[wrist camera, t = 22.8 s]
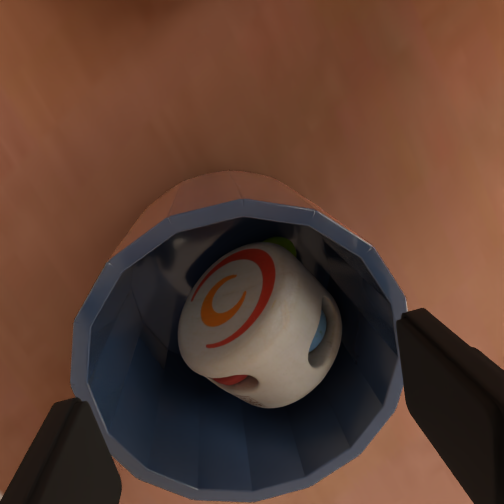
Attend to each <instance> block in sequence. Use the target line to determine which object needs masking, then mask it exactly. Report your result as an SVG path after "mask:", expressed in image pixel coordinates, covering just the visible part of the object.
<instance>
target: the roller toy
mask: <svg viewBox="0 0 504 504" xmlns="http://www.w3.org/2000/svg"><path fill="white" fill-rule="evenodd" d="M341 336H342V321H341V315H340V311H339V308H338V306H337V304H336V302H335V300H334V298H333V297H332V296H331V294H330V293H329V292H328V291H327V290H326V289H325V288H324V287H323V286H322V284H321V283H320V282H319V281H318V280H317V279H316V278H315V277H314V276H313V275H312V274H311V273H310V272H309V271H308V270H307V268H306V267H305V266H304V265H303V264H302V263H301V262H300V261H299V260H298V259H297V258H296V250H295V247H294V245H293V243H292V242H291V241H290V240H288V239H286V238H283V237H271V238H268V239H266V240H264V241H262V242H255V243H251V244H247V245H244V246H241V247H239V248H236V249H234V250H232V251H230V252H229V253H227V254H225V255H224V256H222V257H221V258H220V259H218V260H217V261H216V262H215V263H214V264H212V265H211V266H210V267H209V268H208V269H207V270H206V271H205V273H204V274H203V275H202V276H201V277H200V279H199V280H198V281H197V283H196V284H195V286H194V287H193V289H192V290H191V292H190V294H189V296H188V298H187V300H186V302H185V304H184V307H183V309H182V312H181V315H180V319H179V324H178V345H179V350H180V353H181V355H182V358H183V360H184V361H185V363H186V364H187V365H188V366H189V368H190V369H192V370H193V371H194V372H196V373H198V374H199V375H202V376H204V377H206V378H207V379H209V380H210V381H211V382H213V383H214V384H216V385H217V386H218V387H220V388H221V389H223V390H225V391H226V392H228V393H230V394H232V395H234V396H236V397H238V398H240V399H241V400H243V401H245V402H247V403H249V404H251V405H254V406H257V407H261V408H278V407H283V406H286V405H289V404H291V403H294V402H296V401H298V400H299V399H301V398H303V397H304V396H306V395H307V394H308V393H310V392H311V391H312V390H313V389H314V388H315V387H316V386H317V385H318V384H319V383H320V382H321V381H322V380H323V379H324V377H325V376H326V374H327V373H328V371H329V370H330V368H331V366H332V364H333V362H334V360H335V358H336V356H337V353H338V350H339V347H340V342H341Z"/></svg>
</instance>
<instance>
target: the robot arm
mask: <svg viewBox="0 0 504 504" xmlns="http://www.w3.org/2000/svg"><path fill="white" fill-rule="evenodd" d="M396 329H397V337H398V345H399V353H400V361H401V369H402V377H403V385H404V393H405V400H406V404H407V407H408V410H409V412H410V414H411V415H412V417H413V418H414V420H415V421H416V423H417V424H418V425H419V427H420V428H421V430H422V431H423V432H424V434H425V435H426V437H427V438H428V439H429V441H430V442H431V444H432V445H433V447H434V448H435V449H436V451H437V452H438V454H439V455H440V456H441V458H442V459H443V461H444V462H445V463H446V465H447V466H448V468H449V469H450V470H451V472H452V473H453V475H454V476H455V478H456V479H457V480H458V482H459V483H460V485H461V486H462V487H463V489H464V490H465V492H466V493H467V494H468V496H469V497H470V499H471V500H472V501H473V503H474V504H504V370H502V369H501V368H500V367H499V366H498V365H496V364H495V363H494V362H493V361H491V360H490V359H489V358H488V357H487V356H485V355H484V354H483V353H482V352H481V351H479V350H478V349H476V348H474V347H470V346H469V345H468V344H467V343H465V342H464V341H463V340H462V339H461V338H459V337H458V336H457V335H456V334H455V333H453V332H452V331H451V330H450V329H449V328H447V327H446V326H445V325H444V324H443V323H441V322H440V321H439V320H438V319H437V318H435V317H434V316H433V315H432V314H431V313H429V312H428V311H427V310H426V309H424V308H420V309H416V310H412V311H409V312H405V313H402V315H401V319H399V320H397V321H396ZM121 490H122V484H121V478H120V475H119V473H118V471H117V468H116V466H115V464H114V461H113V459H112V457H111V454H110V452H109V449H108V447H107V445H106V442H105V440H104V438H103V435H102V433H101V431H100V428H99V426H98V424H97V421H96V419H95V416H94V414H93V412H92V409H91V407H90V405H89V403H88V402H87V401H81V399H80V398H78V397H76V398H72V399H68V400H64V401H60V402H57V403H54V405H53V406H52V408H51V409H50V411H49V413H48V415H47V417H46V418H45V420H44V422H43V424H42V426H41V428H40V429H39V431H38V433H37V435H36V437H35V439H34V440H33V442H32V444H31V446H30V448H29V450H28V451H27V453H26V455H25V457H24V459H23V461H22V462H21V464H20V466H19V468H18V470H17V471H16V473H15V475H14V477H13V479H12V481H11V482H10V484H9V486H8V488H7V490H6V492H5V493H4V495H3V497H2V499H1V501H0V504H119V500H120V496H121Z"/></svg>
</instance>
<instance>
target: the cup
mask: <svg viewBox="0 0 504 504" xmlns="http://www.w3.org/2000/svg"><path fill="white" fill-rule="evenodd" d="M271 237H283V238H286V239H288V240H290V241H291V242H292V243H293V245H294V247H295V250H296V258H297V259H298V260H299V261H300V262H301V263H302V264H303V265H304V266H305V267H306V268H307V270H308V271H309V272H310V273H311V274H312V275H313V276H314V277H315V278H316V279H317V280H318V281H319V282H320V283H321V284H322V286H323V287H324V288H325V289H326V290H327V291H328V292H329V293H330V294H331V296H332V297H333V298H334V300H335V302H336V304H337V306H338V308H339V311H340V315H341V321H342V336H341V342H340V347H339V350H338V353H337V356H336V358H335V360H334V362H333V364H332V366H331V368H330V370H329V371H328V373H327V374H326V376H325V377H324V379H323V380H322V381H321V382H320V383H319V384H318V385H317V386H316V387H315V388H314V389H313V390H312V391H311V392H310V393H308V394H307V395H306V396H304V397H303V398H301V399H299V400H298V401H296V402H294V403H291V404H289V405H286V406H283V407H278V408H261V407H257V406H254V405H251V404H249V403H247V402H245V401H243V400H241V399H240V398H238V397H236V396H234V395H232V394H230V393H228V392H226V391H225V390H223V389H221V388H220V387H218V386H217V385H216V384H214V383H213V382H211V381H210V380H209V379H207V378H206V377H204V376H202V375H199V374H198V373H196V372H194V371H193V370H192V369H190V368H189V366H188V365H187V364H186V363H185V361H184V360H183V358H182V355H181V353H180V350H179V345H178V324H179V319H180V315H181V312H182V309H183V307H184V304H185V302H186V300H187V298H188V296H189V294H190V292H191V290H192V289H193V287H194V286H195V284H196V283H197V281H198V280H199V279H200V277H201V276H202V275H203V274H204V273H205V271H206V270H207V269H208V268H209V267H210V266H211V265H212V264H214V263H215V262H216V261H217V260H218V259H220V258H221V257H222V256H224V255H225V254H227V253H229V252H230V251H232V250H234V249H236V248H239V247H241V246H244V245H247V244H251V243H255V242H262V241H264V240H266V239H268V238H271ZM405 312H408V309H407V301H406V297H405V295H404V293H403V292H402V290H401V288H400V287H399V285H398V284H397V282H396V281H395V279H394V277H393V276H392V274H391V273H390V271H389V269H388V268H387V266H386V265H385V263H384V262H383V260H382V258H381V257H380V255H379V254H378V252H377V250H376V249H375V247H374V246H372V244H370V243H369V242H368V241H366V240H365V239H363V238H362V237H360V236H359V235H358V234H356V233H355V232H353V231H352V230H351V229H349V228H348V227H346V226H345V225H344V224H342V223H341V222H339V221H338V220H337V219H335V218H334V217H332V216H331V215H330V214H328V213H327V212H325V211H324V210H323V209H321V208H320V207H318V206H317V205H316V204H314V203H313V202H311V201H310V200H308V199H307V198H305V197H304V196H302V195H301V194H299V193H297V192H296V191H294V190H293V189H291V188H290V187H288V186H286V185H285V184H283V183H282V182H280V181H279V180H277V179H275V178H273V177H269V176H264V175H260V174H255V173H251V172H243V171H232V170H226V171H219V172H213V173H207V174H203V175H200V176H197V177H194V178H191V179H188V180H184V181H183V182H180V183H179V184H178V185H176V186H175V187H173V188H172V189H170V190H168V191H167V192H165V193H164V194H163V195H162V196H161V197H159V198H158V199H157V200H156V201H155V202H153V203H152V204H151V205H149V206H148V207H147V208H146V209H145V210H144V211H143V213H142V214H141V215H140V217H139V218H138V220H137V221H136V222H135V224H134V225H133V226H132V228H131V229H130V231H129V232H128V233H127V235H126V236H125V237H124V239H123V240H122V242H121V243H120V244H119V246H118V247H117V248H116V250H115V251H114V253H113V254H112V255H111V257H110V258H109V259H108V261H107V262H106V264H105V266H104V267H103V269H102V271H101V273H100V274H99V276H98V278H97V280H96V282H95V283H94V285H93V287H92V289H91V290H90V292H89V294H88V296H87V298H86V299H85V301H84V303H83V305H82V306H81V308H80V310H79V312H78V314H77V315H76V317H75V319H74V323H73V337H72V355H71V373H70V384H71V388H72V390H73V393H74V395H75V397H78V398H80V399H81V401H87V402H88V403H89V405H90V407H91V409H92V412H93V414H94V416H95V419H96V421H97V424H98V426H99V428H100V431H101V433H102V435H103V438H104V440H105V442H106V445H107V447H108V449H109V452H110V454H111V456H112V457H114V458H115V459H116V460H117V461H118V462H119V463H120V464H121V465H122V466H123V467H125V468H126V469H127V470H128V471H129V472H130V473H131V474H132V475H133V476H135V477H136V478H138V479H139V480H141V481H144V482H146V483H149V484H152V485H154V486H157V487H160V488H162V489H165V490H167V491H170V492H173V493H175V494H178V495H180V496H183V497H186V498H188V499H191V500H193V499H194V500H198V501H224V502H257V501H261V500H265V499H268V498H272V497H276V496H279V495H283V494H287V493H290V492H294V491H298V490H301V489H305V488H309V487H310V486H313V485H314V484H316V483H317V482H319V481H320V480H322V479H323V478H325V477H327V476H328V475H330V474H331V473H333V472H334V471H336V470H337V469H339V468H341V467H342V466H344V465H345V464H347V463H348V462H350V461H351V460H353V459H355V458H356V457H358V456H359V455H360V454H361V453H362V452H363V451H364V450H365V448H366V447H367V446H368V444H369V443H370V442H371V441H372V439H373V438H374V437H375V436H376V434H377V433H378V432H379V431H380V429H381V428H382V427H383V426H384V424H385V423H386V422H387V421H388V419H389V418H390V417H391V416H392V414H393V413H394V412H395V409H396V408H397V405H398V402H399V398H400V395H401V392H402V389H403V386H404V385H403V377H402V369H401V361H400V353H399V345H398V337H397V329H396V321H397V320H399V319H401V315H402V313H405Z"/></svg>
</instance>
